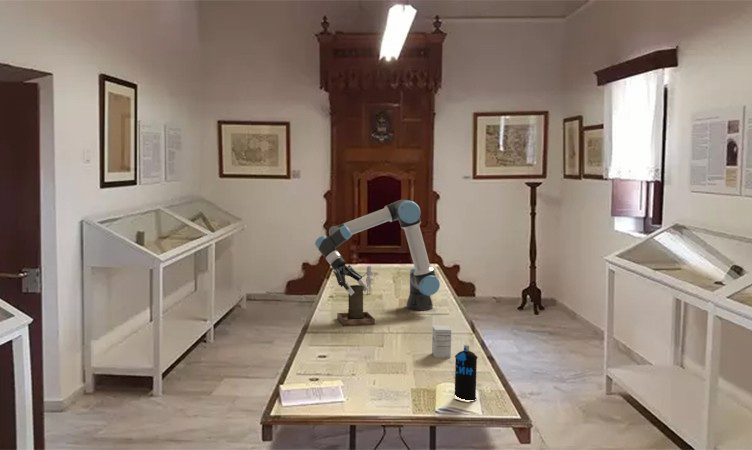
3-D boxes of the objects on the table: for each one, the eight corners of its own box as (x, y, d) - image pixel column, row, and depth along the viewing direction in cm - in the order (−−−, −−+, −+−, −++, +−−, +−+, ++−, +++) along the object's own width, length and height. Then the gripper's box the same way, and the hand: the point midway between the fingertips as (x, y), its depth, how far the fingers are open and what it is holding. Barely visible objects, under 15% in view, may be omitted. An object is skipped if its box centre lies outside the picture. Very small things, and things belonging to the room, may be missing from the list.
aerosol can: (460, 393, 271) (461, 341, 269) (480, 397, 267) (481, 344, 265) (449, 399, 265) (451, 346, 262) (469, 404, 260) (471, 349, 258)
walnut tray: (367, 317, 392) (367, 311, 392) (374, 324, 376) (374, 318, 376) (337, 318, 388) (337, 313, 388) (343, 325, 372) (343, 320, 372)
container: (362, 322, 377) (362, 288, 375) (345, 321, 378) (345, 287, 376) (365, 318, 385) (366, 285, 384) (349, 317, 387) (349, 284, 385)
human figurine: (377, 293, 456) (378, 265, 454) (378, 295, 452) (379, 266, 450) (358, 294, 454) (359, 265, 452) (359, 295, 451) (359, 266, 449)
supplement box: (431, 353, 324) (432, 325, 323) (447, 353, 325) (448, 325, 324) (434, 358, 317) (434, 329, 316) (450, 357, 318) (451, 329, 316)
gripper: (344, 262, 397) (367, 292, 391) (318, 268, 376) (342, 300, 370) (352, 253, 394) (376, 283, 388) (326, 259, 373) (351, 291, 367)
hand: (359, 292), depth 379 cm, fingers open, 13 cm apart
